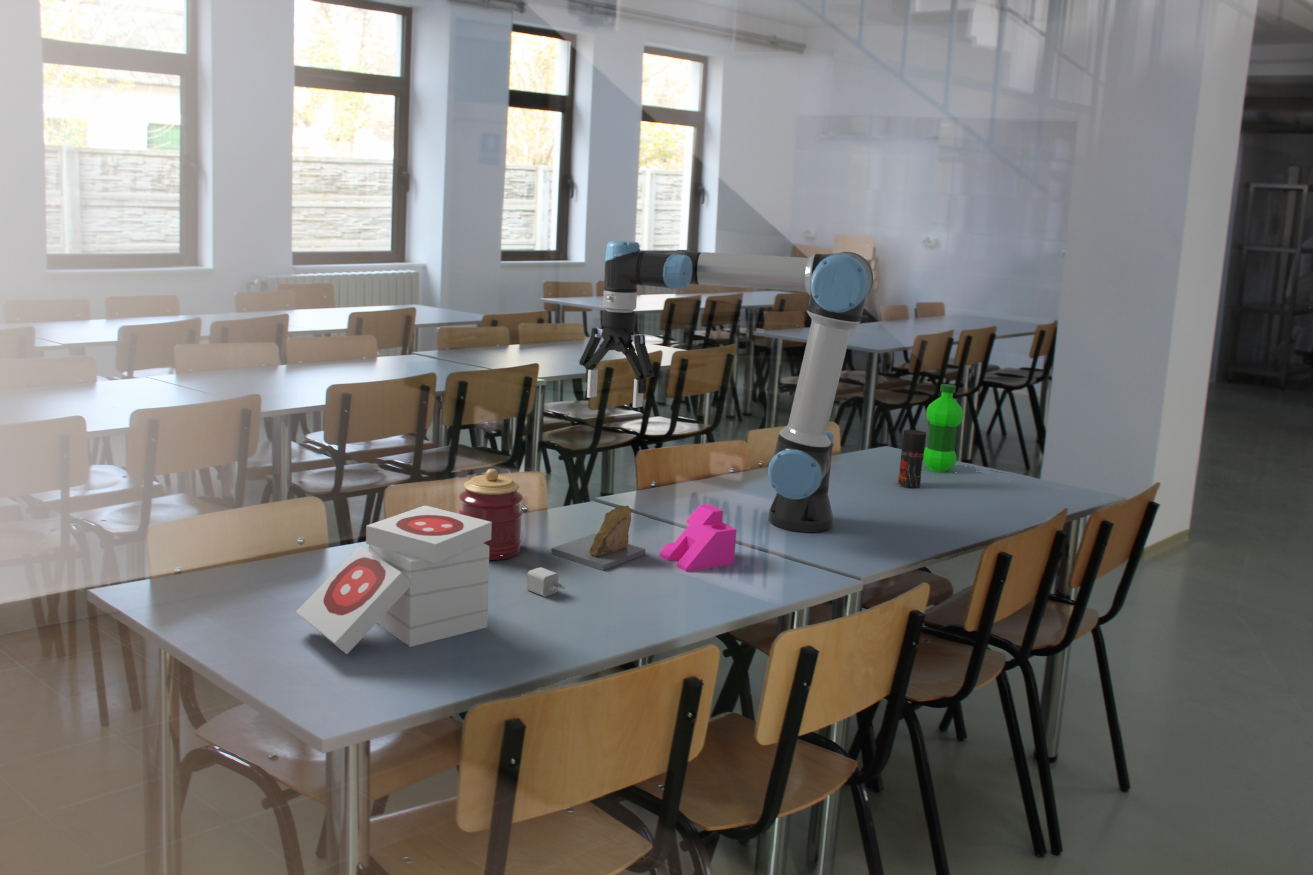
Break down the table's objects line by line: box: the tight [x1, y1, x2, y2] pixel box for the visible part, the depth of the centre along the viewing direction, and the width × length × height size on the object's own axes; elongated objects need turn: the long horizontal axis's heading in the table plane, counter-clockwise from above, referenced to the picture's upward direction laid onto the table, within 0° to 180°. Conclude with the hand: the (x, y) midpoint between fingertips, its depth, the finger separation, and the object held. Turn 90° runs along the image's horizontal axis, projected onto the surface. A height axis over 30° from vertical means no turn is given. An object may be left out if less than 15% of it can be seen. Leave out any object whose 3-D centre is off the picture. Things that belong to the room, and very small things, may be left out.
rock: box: [589, 505, 632, 556], centre depth 227 cm, size 11×9×10 cm
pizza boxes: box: [295, 505, 492, 655], centre depth 183 cm, size 19×30×18 cm, turn 131°
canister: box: [458, 468, 524, 561], centre depth 224 cm, size 13×13×18 cm
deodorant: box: [897, 429, 927, 490], centre depth 296 cm, size 6×6×15 cm
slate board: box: [550, 533, 646, 571], centre depth 228 cm, size 14×14×1 cm
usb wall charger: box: [526, 567, 565, 598], centre depth 205 cm, size 4×7×4 cm, turn 50°
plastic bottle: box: [923, 383, 964, 473], centre depth 314 cm, size 10×10×25 cm
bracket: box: [658, 503, 737, 573], centre depth 228 cm, size 12×10×10 cm
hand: (614, 402), depth 251 cm, fingers open, 13 cm apart
